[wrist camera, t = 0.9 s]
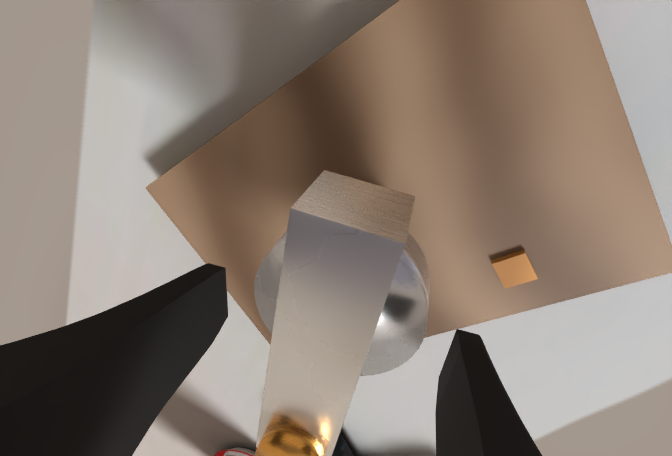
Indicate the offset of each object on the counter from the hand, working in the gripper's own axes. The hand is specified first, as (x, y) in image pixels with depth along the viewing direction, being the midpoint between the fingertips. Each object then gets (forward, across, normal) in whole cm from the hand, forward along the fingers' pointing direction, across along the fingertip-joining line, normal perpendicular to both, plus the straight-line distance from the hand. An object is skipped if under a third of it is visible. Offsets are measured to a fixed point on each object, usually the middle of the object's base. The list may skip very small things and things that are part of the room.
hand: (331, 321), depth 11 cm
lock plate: (+8, 0, 0) cm, 8 cm away
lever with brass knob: (+2, 0, 0) cm, 2 cm away
